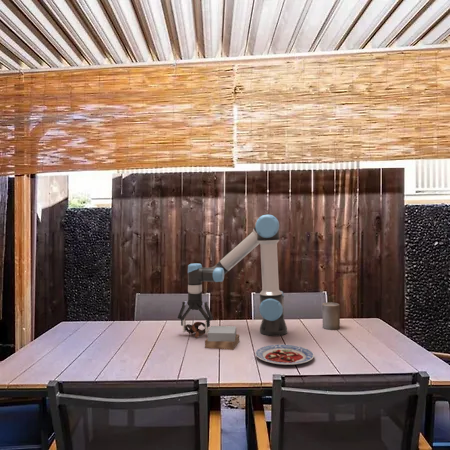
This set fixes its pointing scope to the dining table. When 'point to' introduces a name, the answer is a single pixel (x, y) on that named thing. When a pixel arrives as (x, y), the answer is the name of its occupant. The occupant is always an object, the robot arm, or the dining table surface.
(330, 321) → the pillar candle
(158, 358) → the dining table surface
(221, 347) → the base slab
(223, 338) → the top slab
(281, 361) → the ceramic plate
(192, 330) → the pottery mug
